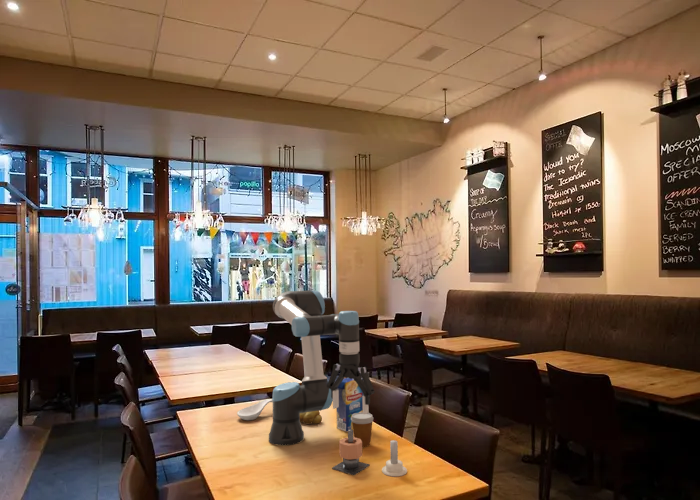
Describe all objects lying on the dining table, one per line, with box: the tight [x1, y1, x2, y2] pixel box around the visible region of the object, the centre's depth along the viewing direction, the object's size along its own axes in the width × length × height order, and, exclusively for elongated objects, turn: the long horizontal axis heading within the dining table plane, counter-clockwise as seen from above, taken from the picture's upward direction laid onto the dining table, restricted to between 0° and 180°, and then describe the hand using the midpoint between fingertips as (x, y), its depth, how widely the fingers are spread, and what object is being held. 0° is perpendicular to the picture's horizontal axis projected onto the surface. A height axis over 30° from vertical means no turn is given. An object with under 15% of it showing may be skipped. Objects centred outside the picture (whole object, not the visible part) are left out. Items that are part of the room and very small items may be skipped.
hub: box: [381, 439, 408, 478], centre depth 169 cm, size 9×9×10 cm
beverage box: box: [335, 378, 364, 433], centre depth 217 cm, size 7×11×22 cm, turn 133°
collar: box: [338, 436, 363, 460], centre depth 173 cm, size 8×8×5 cm
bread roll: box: [300, 411, 323, 425], centre depth 225 cm, size 13×10×8 cm
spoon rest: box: [236, 398, 273, 421], centre depth 236 cm, size 24×12×7 cm, turn 134°
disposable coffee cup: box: [351, 412, 375, 448], centre depth 195 cm, size 10×10×12 cm
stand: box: [331, 429, 371, 476], centre depth 173 cm, size 10×10×14 cm
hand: (350, 410), depth 173 cm, fingers open, 13 cm apart
